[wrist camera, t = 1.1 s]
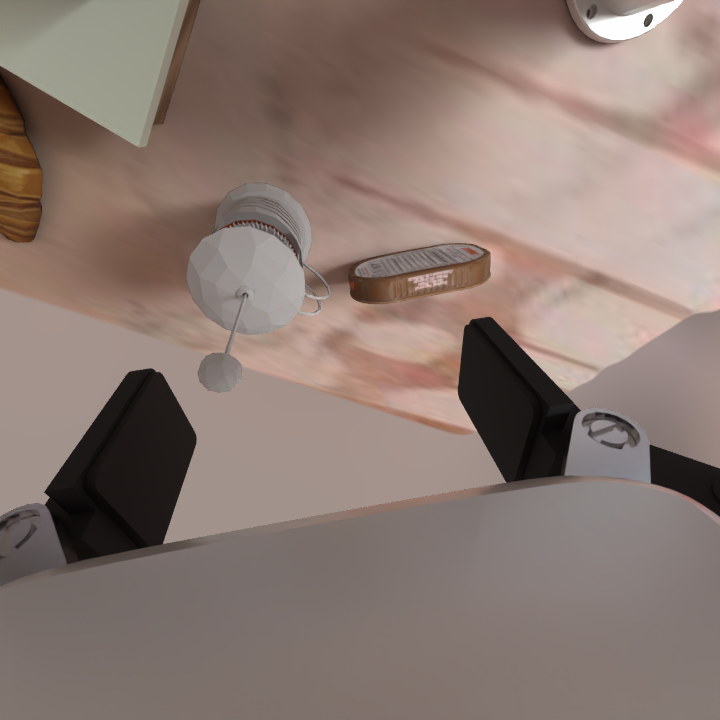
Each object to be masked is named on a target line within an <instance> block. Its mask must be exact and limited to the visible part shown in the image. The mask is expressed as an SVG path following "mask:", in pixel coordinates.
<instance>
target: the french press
mask: <svg viewBox="0 0 720 720" xmlns="http://www.w3.org/2000/svg"><path fill="white" fill-rule="evenodd" d="M214 228H215V230H214V231H213V233H212V234H211V235H209V236H207V237H205V238H203V239H202V240H201V242H200V243H199V244H198V246H197V247H196V249H195V250H194V251H193V253H192V254H191V255H190V257H189V263H188V269H187V275H186V279H187V283H188V286H189V289H190V293H191V296H192V299H193V300H194V302H195V303H196V304H197V305H198V307H199V308H200V309H201V311H202V312H203V313H204V314H205V316H206V317H207V318H209V319H211V320H212V321H214V322H215V323H217V324H218V325H220V326H221V327H223V328H225V329H227V330H230V331H232V332H231V335H230V338H229V341H228V344H227V347H226V350H225V353H212V354H210V355H207V356H206V357H205V358H204V359H203V360H202V362H201V364H200V367H199V370H198V377H199V381H200V383H202V384H203V385H204V387H206V388H207V389H208V390H209V391H214V392H228V391H231V390H232V388H234V386H235V385H236V384H237V383H238V382H239V381H240V380H241V376H242V366H241V364H240V362H239V361H238V360H237V359H236V358H234V357H233V356H231V355H229V352H230V349H231V346H232V343H233V339H234V336H235V333H236V332H238V333H242V334H246V335H253V334H268V333H270V332H272V331H275V330H277V329H279V328H281V327H283V326H286V325H287V324H288V323H289V322H290V321H291V320H292V319H293V318H294V316H295V315H296V314H302V315H306V316H312V315H316V314H318V313H320V311H321V301H320V300H323V299H327V298H328V297H329V296H330V295H331V292H330V288H329V285H328V284H327V283H326V281H325V280H324V278H323V277H322V276H321V275H320V274H319V273H318V272H316V271H315V270H314V269H313V268H311V267H310V266H309V265H307V264H306V263H304V261H305V260H306V259H307V256H308V253H309V250H310V247H311V243H312V238H311V227H310V222H309V220H308V218H307V216H306V214H305V212H304V210H303V208H302V206H301V205H300V204H299V203H298V202H297V201H296V200H295V199H294V198H293V197H292V196H291V195H290V194H289V193H288V192H287V191H285V190H282V189H280V188H277V187H275V186H272V185H270V184H267V183H253V184H244V185H242V186H240V187H239V188H237V189H235V190H233V191H231V192H229V193H228V194H227V196H226V197H225V198H224V200H223V201H222V203H221V204H220V206H219V207H218V208H217V214H216V221H215V227H214ZM303 265H304V266H305V267H307V268H308V269H309V270H311V271H312V272H313V273H314V274H315V275H317V276H318V277H319V278H320V279H321V280H322V281H323V283H324V284H325V286H326V288H327V291H328V294H327V295H326V296H325V297H317V295H316V294H315V292H314V291H313V290H312V289H311V288H310V287H309V286H308V285H307V284H305V279H304V271H303V269H302V267H303ZM305 287H306V288H307V289H308V290H310V291H311V292H312V293H313V295H314V296H313V295H310V294H307V293H306V292H305ZM304 296H306V297H309V298H313V299H316V300H317V302H318V310H317V311H315V312H314V313H306V312H302V311H300V308H301V305H302V302H303V299H304Z"/></svg>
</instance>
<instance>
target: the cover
mask: <svg viewBox="0 0 720 720" xmlns="http://www.w3.org/2000/svg"><path fill="white" fill-rule="evenodd" d="M188 2H189V0H0V66H1V67H3V68H5V69H7V70H8V71H10V72H12V73H13V74H15V75H17V76H18V77H20V78H22V79H23V80H25V81H27V82H29V83H30V84H32V85H34V86H35V87H37V88H39V89H40V90H42V91H44V92H45V93H47V94H49V95H51V96H52V97H54V98H56V99H57V100H59V101H61V102H62V103H64V104H66V105H67V106H69V107H71V108H72V109H74V110H76V111H78V112H79V113H81V114H83V115H84V116H86V117H88V118H89V119H91V120H93V121H94V122H96V123H98V124H100V125H101V126H103V127H105V128H106V129H108V130H110V131H111V132H113V133H115V134H116V135H118V136H120V137H122V138H123V139H125V140H127V141H128V142H130V143H132V144H133V145H135V146H137V147H146V146H147V142H148V139H149V136H150V132H151V129H152V125H153V122H154V119H155V115H156V112H157V108H158V105H159V101H160V98H161V95H162V91H163V88H164V84H165V81H166V77H167V74H168V71H169V67H170V64H171V60H172V57H173V54H174V50H175V47H176V43H177V40H178V36H179V33H180V30H181V26H182V23H183V19H184V16H185V12H186V9H187V6H188Z"/></svg>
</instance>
